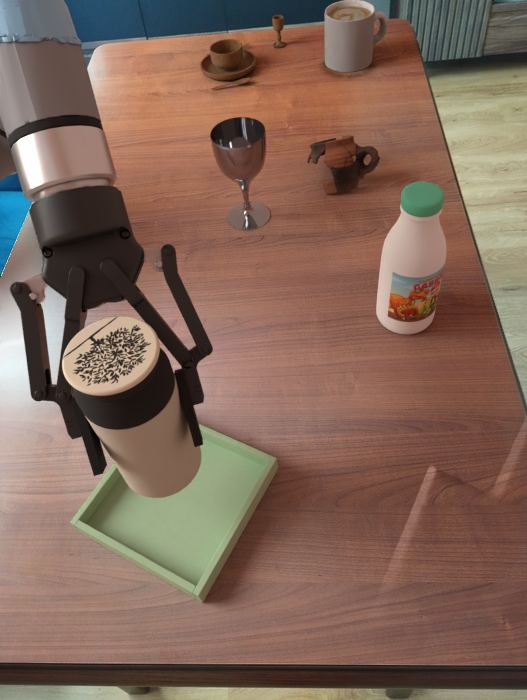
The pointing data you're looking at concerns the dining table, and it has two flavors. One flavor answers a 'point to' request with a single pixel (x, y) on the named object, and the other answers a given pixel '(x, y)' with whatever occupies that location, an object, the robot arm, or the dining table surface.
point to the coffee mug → (351, 34)
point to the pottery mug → (343, 162)
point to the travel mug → (133, 404)
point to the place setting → (234, 57)
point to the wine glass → (242, 165)
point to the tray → (182, 515)
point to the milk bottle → (412, 261)
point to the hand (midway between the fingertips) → (150, 455)
